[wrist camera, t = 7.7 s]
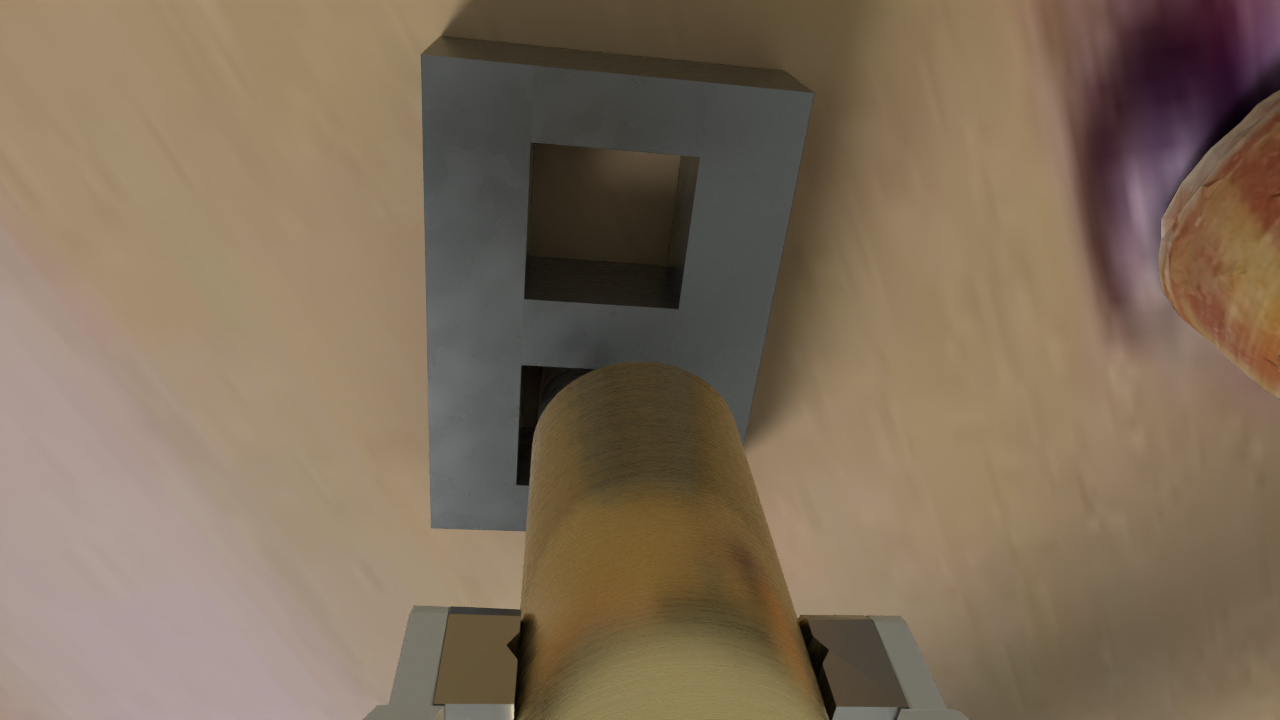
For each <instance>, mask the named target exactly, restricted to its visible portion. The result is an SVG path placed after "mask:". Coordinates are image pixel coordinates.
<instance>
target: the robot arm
mask: <svg viewBox="0 0 1280 720" xmlns="http://www.w3.org/2000/svg"><path fill="white" fill-rule="evenodd" d="M798 622H799V625H800V629H801V632H802V635H803V638H804V641H805V644H806V648H807V651H808V654H809V657H810V660H811V663H812V667H813V670H814V673H815V676H816V679H817V682H818V686H819V689H820V692H821V695H822V698H823V701H824V705H825V708H826V711H827V714H828V717H829V720H970V719H969V718H967V717H966V716H965V715H964V714H963V713H961V712H960V711H959V710H955V709H948V708H947V706H946V704H945V702H944V700H943V698H942V696H941V694H940V692H939V690H938V687H937V685H936V683H935V681H934V679H933V677H932V675H931V673H930V671H929V669H928V666H927V664H926V662H925V660H924V658H923V656H922V654H921V652H920V650H919V648H918V646H917V643H916V641H915V639H914V637H913V635H912V633H911V631H910V629H909V627H908V625H907V623H906V621H905V620H904V619H903V618H902V617H901V616H863V615H800V617H799V618H798ZM520 628H521V610H517V609H496V608H474V607H452V606H451V607H438V606H416V605H414V606H413V608H412V610H411V612H410V614H409V618H408V622H407V627H406V631H405V635H404V640H403V644H402V648H401V653H400V657H399V661H398V666H397V670H396V675H395V679H394V683H393V688H392V692H391V696H390V701H389V705H377V706H376V707H375V708H374V709H373V710H372V711H371V712H370V713H369V714H368V715H367V716H366V717H365V718H364V719H363V720H514V715H515V702H516V689H517V666H518V658H519V647H520Z"/></svg>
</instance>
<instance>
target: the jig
mask: <svg viewBox="0 0 1280 720" xmlns="http://www.w3.org/2000/svg"><path fill="white" fill-rule="evenodd" d="M421 76H422V124H423V171H424V219H425V266H426V314H427V361H428V409H429V456H430V504H431V528H440V529H471V530H502V531H526V523H527V509H528V495H529V481H530V468H531V454H532V443H533V436H534V432H535V429H522V408H523V385H524V365H530V366H543V367H542V370H541V380H540V395H539V411H538V421H539V419H540V417H541V415H542V413H543V411H544V410H545V408H546V407H547V405H548V404H549V402H550V401H551V400H552V399H553V398H554V397H555V396H556V395H557V394H558V393H559V392H560V391H561V390H562V389H563V388H565V387H566V386H567V385H568V384H570V383H571V382H573V381H574V380H576V379H577V378H579V377H581V376H583V375H585V374H587V373H589V372H591V371H594V370H596V369H599V368H602V367H605V366H609V365H613V364H618V363H626V362H655V363H662V364H667V365H671V366H675V367H678V368H680V369H683V370H686V371H688V372H690V373H692V374H694V375H696V376H698V377H700V378H701V379H702V380H704V381H705V382H707V383H708V384H709V385H711V386H712V387H713V388H714V389H715V390H716V391H717V392H718V393H719V394H720V396H721V397H722V398H723V399H724V401H725V402H726V403H727V405H728V407H729V409H730V410H731V412H732V415H733V418H734V420H735V423H736V426H737V429H738V432H739V435H740V439H741V442H742V445H744V440H745V435H746V430H747V425H748V420H749V415H750V410H751V406H752V401H753V396H754V391H755V386H756V381H757V376H758V371H759V366H760V361H761V356H762V351H763V346H764V341H765V336H766V331H767V326H768V321H769V316H770V311H771V306H772V301H773V296H774V291H775V286H776V281H777V276H778V271H779V266H780V261H781V256H782V251H783V247H784V242H785V237H786V232H787V227H788V222H789V217H790V212H791V207H792V202H793V197H794V192H795V187H796V182H797V177H798V172H799V167H800V162H801V157H802V152H803V147H804V142H805V137H806V132H807V127H808V122H809V117H810V112H811V107H812V102H813V97H814V92H812V91H811V90H810V89H808V88H807V87H806V86H804V85H803V84H802V83H800V82H799V81H798V80H796V79H795V78H793V77H792V76H791V75H789V74H788V73H787V72H785V71H779V70H769V69H759V68H749V67H740V66H730V65H720V64H710V63H700V62H690V61H680V60H670V59H660V58H651V57H641V56H631V55H621V54H611V53H601V52H591V51H581V50H571V49H562V48H552V47H542V46H532V45H522V44H512V43H502V42H492V41H482V40H473V39H463V38H453V37H443V36H440V37H439V38H438V39H437V40H436V41H435V42H433V43H432V44H431V45H430V46H429V47H428V48H427V49H426V50H425V51H424V52H423V53H422V54H421ZM534 143H544V144H556V145H567V146H579V147H590V148H602V149H613V150H625V151H636V152H648V153H659V154H671V155H681V161H680V168H679V176H678V184H677V191H676V199H675V207H674V214H673V222H672V230H671V237H670V245H669V253H668V260H667V266H659V265H645V264H631V263H617V262H603V261H589V260H575V259H560V258H546V257H532V256H529V248H530V225H531V202H532V179H533V156H534Z"/></svg>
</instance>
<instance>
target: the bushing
mask: <svg viewBox="0 0 1280 720" xmlns="http://www.w3.org/2000/svg"><path fill="white" fill-rule="evenodd" d="M520 610H521V628H520V647H519V658H518V666H517V689H516V702H515V715H514V720H829V717H828V714H827V711H826V708H825V705H824V701H823V698H822V695H821V692H820V689H819V686H818V682H817V679H816V676H815V673H814V670H813V667H812V663H811V660H810V657H809V654H808V651H807V648H806V644H805V641H804V638H803V635H802V632H801V629H800V625H799V622H798V619H797V616H796V613H795V610H794V606H793V603H792V600H791V597H790V594H789V591H788V587H787V584H786V581H785V578H784V575H783V572H782V568H781V565H780V562H779V559H778V556H777V553H776V549H775V546H774V543H773V540H772V537H771V534H770V530H769V527H768V524H767V521H766V518H765V515H764V511H763V508H762V505H761V502H760V499H759V496H758V492H757V489H756V486H755V483H754V480H753V477H752V473H751V470H750V467H749V464H748V461H747V458H746V454H745V451H744V448H743V445H742V442H741V439H740V435H739V432H738V429H737V426H736V423H735V420H734V418H733V415H732V412H731V410H730V409H729V407H728V405H727V403H726V402H725V401H724V399H723V398H722V397H721V396H720V394H719V393H718V392H717V391H716V390H715V389H714V388H713V387H712V386H711V385H709V384H708V383H707V382H705V381H704V380H702V379H701V378H700V377H698V376H696V375H694V374H692V373H690V372H688V371H686V370H683V369H680V368H678V367H675V366H671V365H667V364H662V363H655V362H626V363H618V364H613V365H609V366H605V367H602V368H599V369H596V370H594V371H591V372H589V373H587V374H585V375H583V376H581V377H579V378H577V379H576V380H574V381H573V382H571V383H570V384H568V385H567V386H566V387H565V388H563V389H562V390H561V391H560V392H559V393H558V394H557V395H556V396H555V397H554V398H553V399H552V400H551V401H550V402H549V404H548V405H547V407H546V408H545V410H544V411H543V413H542V415H541V417H540V419H539V421H538V423H537V425H536V429H535V432H534V436H533V443H532V454H531V468H530V481H529V495H528V509H527V523H526V536H525V550H524V564H523V578H522V592H521V605H520Z"/></svg>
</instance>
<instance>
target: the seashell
mask: <svg viewBox="0 0 1280 720" xmlns="http://www.w3.org/2000/svg"><path fill="white" fill-rule="evenodd" d="M1158 263H1159V276H1160V283H1161V288H1162V290H1163V291H1164V293H1165V294H1166V296H1167V297H1168V299H1169V300H1170V302H1171V304H1172V306H1173V307H1174V309H1175V310H1176V311H1177V313H1178V314H1179V315H1180V316H1181V318H1182V319H1183V320H1184V321H1186V322H1187V323H1189V324H1190V325H1191V326H1192V327H1193V328H1195V329H1196V330H1197V331H1198V332H1199V333H1200V334H1202V335H1203V336H1204V337H1205V338H1206V339H1208V340H1209V341H1210V342H1211V343H1212V344H1213V345H1214V346H1215V347H1216V348H1217V349H1218V350H1219V351H1220V352H1221V353H1222V354H1223V355H1224V356H1225V357H1226V358H1227V359H1228V360H1229V361H1230V362H1232V363H1233V364H1234V365H1235V366H1237V367H1238V368H1239V369H1240V370H1241V371H1243V372H1244V373H1245V374H1246V375H1247V376H1249V377H1250V378H1251V379H1252V380H1253V381H1255V382H1256V383H1257V384H1258V385H1260V386H1261V387H1262V388H1263V389H1265V390H1266V391H1267V392H1269V393H1271V394H1272V395H1274V396H1275V397H1277V398H1279V399H1280V90H1278V91H1277V92H1275V93H1273V94H1272V95H1271V96H1269V97H1268V98H1266V99H1265V100H1263V101H1262V102H1260V103H1259V104H1257V105H1256V106H1255V107H1254V108H1253V109H1252V111H1251V112H1250V113H1249V114H1248V115H1247V116H1246V117H1245V118H1244V119H1243V120H1242V121H1241V122H1240V123H1239V124H1238V125H1237V126H1236V127H1235V128H1233V129H1232V130H1231V131H1230V132H1229V133H1228V134H1227V135H1225V136H1224V137H1223V138H1222V139H1221V140H1220V141H1219V142H1217V143H1216V144H1215V145H1214V146H1213V147H1212V148H1210V150H1209V151H1208V152H1207V153H1206V154H1205V156H1204V157H1203V158H1202V159H1201V160H1200V162H1199V163H1198V164H1197V165H1196V166H1195V168H1194V169H1193V170H1192V171H1191V172H1190V174H1189V175H1188V176H1187V177H1186V178H1185V180H1184V181H1183V182H1182V183H1181V185H1180V187H1179V188H1178V190H1177V192H1176V194H1175V196H1174V197H1173V199H1172V201H1171V203H1170V205H1169V206H1168V208H1167V210H1166V212H1165V213H1164V215H1163V217H1162V219H1161V243H1160V250H1159V256H1158Z"/></svg>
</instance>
